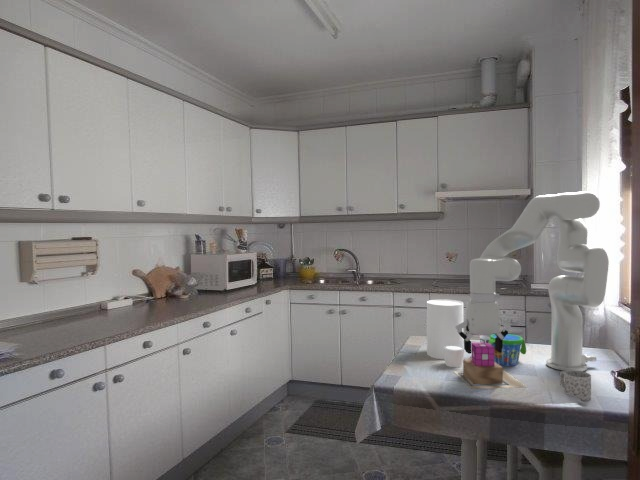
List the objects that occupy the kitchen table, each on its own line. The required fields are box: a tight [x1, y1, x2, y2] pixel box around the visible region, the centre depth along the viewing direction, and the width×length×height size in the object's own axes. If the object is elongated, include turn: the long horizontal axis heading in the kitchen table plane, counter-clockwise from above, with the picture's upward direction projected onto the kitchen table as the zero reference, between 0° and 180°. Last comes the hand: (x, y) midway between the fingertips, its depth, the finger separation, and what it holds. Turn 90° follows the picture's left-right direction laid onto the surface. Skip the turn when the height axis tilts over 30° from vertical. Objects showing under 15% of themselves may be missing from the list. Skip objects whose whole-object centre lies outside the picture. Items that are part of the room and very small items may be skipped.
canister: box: [426, 299, 464, 360], centre depth 174 cm, size 14×14×20 cm
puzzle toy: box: [471, 342, 495, 366], centre depth 144 cm, size 6×6×6 cm
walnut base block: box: [462, 358, 504, 384], centre depth 144 cm, size 9×9×5 cm
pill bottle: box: [479, 334, 492, 343], centre depth 171 cm, size 6×6×10 cm
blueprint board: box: [453, 369, 528, 390], centre depth 144 cm, size 17×16×1 cm
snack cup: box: [488, 333, 527, 367], centre depth 160 cm, size 16×10×10 cm
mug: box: [559, 370, 592, 402], centre depth 133 cm, size 10×7×7 cm
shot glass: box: [444, 345, 465, 368], centre depth 159 cm, size 7×7×7 cm
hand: (483, 351), depth 144 cm, fingers open, 9 cm apart
